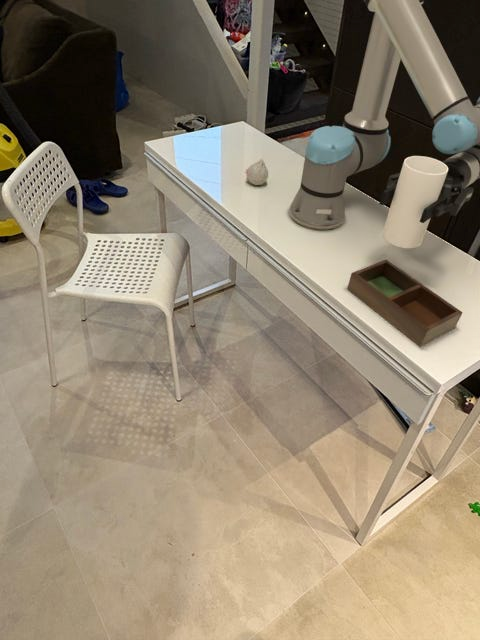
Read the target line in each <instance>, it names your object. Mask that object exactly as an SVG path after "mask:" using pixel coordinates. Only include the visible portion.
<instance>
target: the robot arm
mask: <svg viewBox="0 0 480 640" xmlns="http://www.w3.org/2000/svg"><path fill="white" fill-rule="evenodd" d="M363 2H364V3H365V5H366V7H367V9H368V11H370V12H373V13H374V14H373V18H372V22H371V27H370V31H369V35H368V41H367V45H366V48H365V53H364V56H363V62H362V66H361V70H360V75H359V79H358V83H357V86H356V87H357V88H356V92H355V97H354V101H353V105H352V109H351V111H350V112H348V113H346V114H345V115H344V119H343V123H342V126H340V125H332V126H330V125H325V126H322V127H318V128H316V129H315V130H313V131H312V133H311V134H310V135H309V137H308V140H307V144H306V146H305V154H304V161H303V166H302V167H303V168H302V175H301V180H300V186H299V189H298V191H297V192H296V194H295V196H294V198H293V200H292V202H291V204H290V206H289V216H290V218H291V220H293V222H295V223H297V224H298V225H300V226H302V227H304V228H308V229H311V230H318V231H327V230H333V229H336V228H339V227H341V225H343V223H344V220H345V215H346V210H345V202H344V192H345V191H344V190H345V187H346V184H347V183H346V182H347V178H348V177H350V176H352V175H355V174H358V173H361V172H362V171H365V170H368V169H371V168H373V167H375V166H376V165H379V163H381V162H382V161H384V159H386V157H387V155H388V153H389V151H390V147H391V135H390V134H389V133H390V131H389V129H388V128H389V121H388V119H387V118H386V113H387V110H388V106H389V103H390V99H391V95H392V92H393V89H394V84H395V82H396V81H395V80H396V77H397V73H398V70H399V66H400V63H401V62H402V64H403V66H404V68H405V70H406V72H407V74H408V76H409V78H410V79H411V81H412V83H413V85H414V87H415V90H416V91H417V93H418V94H419V96H420V99H421V100H422V102H423V104H424V106H425V108H426V110H427V112H428V114H429V116H430V118H431V120H432V121H433V125H434V127H433V129H432V132H431V136H432V137H431V138H432V140H431V141H432V143H433V146H434V147H435V148H436V150H437V151H439V152H440V153H442V154H445V155H452V156H450V157H448V158H446V159H445V160H443V161H441V162H442V163H444V164H445V165H446V166H447V167H448V172H447V175H446V178H445V181H444V183H443V186H442V189H441V192H440V194H439V198H438V200H437V201H435V202H434V203H432V204H431V205H429V206H428V207H426V208H425V209H424V210H423V213H422V216H421V219H420V222H421V223H424V222H426V221H427V220H428V219H430V218H433V217H440V216H441V215H443V214H446V213H449V215H450V216H452V217H455V216H457V214H458V213H459V211H460V210H461V208H462V207H463V206H464V204H465V203H466V202H468V201H470V200H471V198H472V196H473V193H474V190H475V188H474V187H473V186H470V185H472V184H474V183H475V182H476V181H477V180H479V179H480V96H479V98H478V99H477V100H476V105H473V103H472V101H471V99H470V97H469V96H468V94H467V92H466V90H465V88H464V86H463V84H462V81H461V80H460V78H459V76H458V74H457V72H456V70H455V68H454V67H453V64H452V63H451V60H450V58H449V57H448V55H447V52H446V51H445V49H444V47H443V45H442V43H441V41H440V39H439V37H438V35H437V33H436V31H435V29H434V27H433V25H432V23H431V22H430V19H429V17H428V16H427V13H426V12H425V9H424V8H423V6H422V5H424V2H425V0H363ZM400 173H401V172H398V173H394V174H391V175H389V178H388V181H387V185H386V189H385V190H383V191H382V193H381V197H380V199H379V200H380V201H379V205H381V206H384V205H386V204H387V203H389V202H392V199H393V196H394V193H395V190H396V186H397V183H398V180H399V176H400ZM455 195H458V196H457V198H456V199H455V200H454V202H451V201H452V199H453V198H452V196H453V197H454V196H455ZM430 220H431V219H430Z"/></svg>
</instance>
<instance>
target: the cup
mask: <svg viewBox="0 0 480 640" xmlns="http://www.w3.org/2000/svg"><path fill="white" fill-rule="evenodd" d="M442 162H443V161H441V160H438V159H436V158H433V157H429V156H422V155H411V156H408V157H406V158H405V159H404V161H403V163H402V167H401V170H400V172H399V173H400V176H399V180H398V183H397V186H396V190H395V193H394V196H393V199H392V200H391V202H390V207H389V210H388V213H387V216H386V219H385V223H384V226H383V230H382V233H381V235H382V238H383V239H384V240H385V241H386V242H387V243H389V244H390V245H393V246H395V247H398V248H402V249H415V248H418V247H420V246H421V245H422V243H423V241H424V239H425V235H426V232H427V229H428V226H429V224H430V221H431V218H432V217H431V218H430V219H428V220H427V221H426V222H424V223H421V222H420V219H421V216H422V213H423V210H424V209H425V208H426V207H428V206H429V205H431V204H432V203H434V202H435V201H437V200H438V199H439V198H440V192H441V189H442V186H443V183H444V181H445V178H446V175H447V172H448V167H447V166H446V165H445V164H444V163H442Z"/></svg>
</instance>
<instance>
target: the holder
mask: <svg viewBox="0 0 480 640" xmlns="http://www.w3.org/2000/svg"><path fill="white" fill-rule="evenodd" d="M347 291H349V292H350V293H351V294H352V295H353V296H355V297H357V298H358V300H360V301H361V302H363V303H364V304H365V305H367V306H368V307H369V308H370V309H371V310H373V311H374V312H375V313H377V314H378V315H379V316H380V317H382V318H383V319H384V320H385V321H387V322H388V323H389V324H390V325H392V326H393V327H394V328H396V329H397V330H398V331H399V332H401V333H402V334H403V335H404V336H406V337H407V338H408V339H409V340H411V341H412V342H413V343H415V344H416V345H417V346H418V347H420V348H421V347H423V346H425V345H427V344H429V343H431V342H432V341H434V340H436V339H438V338H440V337H442V336H444V335H445V334H447V333H449V332H451V331H453V330H455V328H456V327H457V325H458V323H459V322H460V319H461V317H462V315H463V314H464V313H463V311H462V310H460V309H458V308H457V307H456V306H454V305H453V304H451V303H450V302H449V301H447V300H446V299H445V298H443V297H441V296H440V295H438V294H437V293H436V292H434V291H432V290H431V289H430V288H429V287H427V286H425V285H423V284H422V283H421V282H420V281H418V280H417V279H415V278H414V277H412V276H411V275H409V274H408V273H406V272H405V271H403V270H402V269H401V268H399V267H398V266H396V265H395V264H394V263H392V262H390V261H389V260H388V259H383V260H381V261H378V262H376V263H374V264H371V265H368V266H365V267H363V268H361V269H358V270H356V271H353V272H351V273H350V277H349V281H348V285H347Z"/></svg>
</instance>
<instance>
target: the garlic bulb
mask: <svg viewBox="0 0 480 640" xmlns="http://www.w3.org/2000/svg"><path fill="white" fill-rule="evenodd" d="M244 173H245V176H246V178H247V180H248V182H249V183H251V184H252V185H254V186H261V185H263V184H265V183H266V182H267V180H268V178H269V170H268V167H267V166H266V164H265V161H264V159H263V158H260V159H259V160H258V161H256V162H254V163H253V164H251V165H249V167H248V168H246V169H245V171H244Z"/></svg>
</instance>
